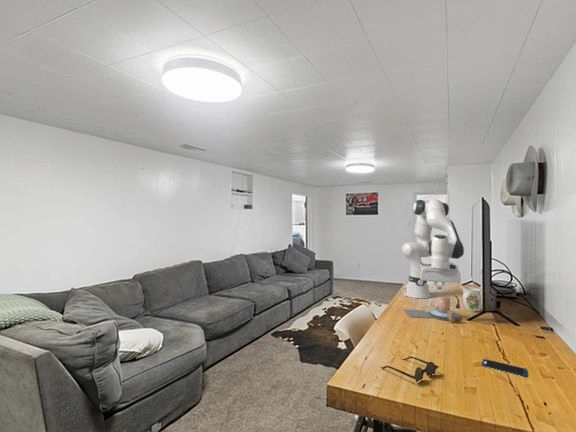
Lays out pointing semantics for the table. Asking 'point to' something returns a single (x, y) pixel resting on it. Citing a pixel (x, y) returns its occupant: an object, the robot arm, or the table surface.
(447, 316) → the turntable
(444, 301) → the jug
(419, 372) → the eyeglasses
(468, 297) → the pitcher
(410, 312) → the mat
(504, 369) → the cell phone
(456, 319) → the base plate
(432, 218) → the robot arm
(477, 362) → the table surface
